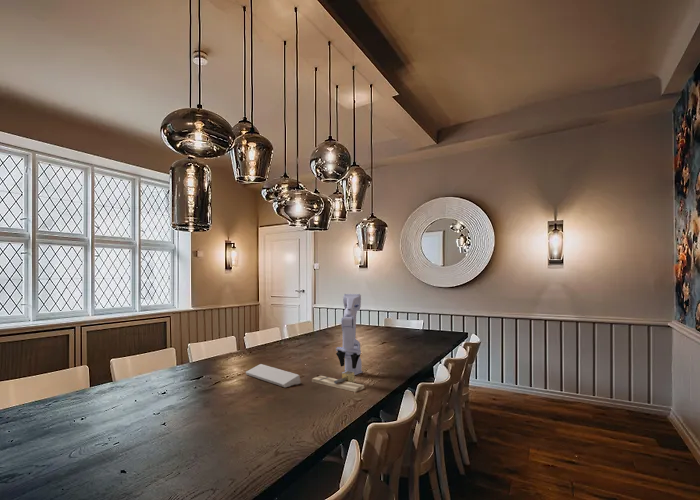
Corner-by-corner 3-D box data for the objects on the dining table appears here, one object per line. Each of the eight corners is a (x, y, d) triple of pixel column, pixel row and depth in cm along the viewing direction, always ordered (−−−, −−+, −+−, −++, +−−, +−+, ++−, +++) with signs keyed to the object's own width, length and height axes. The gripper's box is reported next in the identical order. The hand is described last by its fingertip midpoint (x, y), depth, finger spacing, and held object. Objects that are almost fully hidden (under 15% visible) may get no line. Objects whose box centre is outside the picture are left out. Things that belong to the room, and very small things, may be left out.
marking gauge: (348, 380, 194) (348, 371, 194) (354, 382, 191) (354, 372, 192) (332, 386, 184) (332, 376, 184) (338, 388, 182) (338, 377, 182)
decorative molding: (285, 393, 183) (301, 383, 190) (283, 384, 182) (299, 374, 189) (247, 380, 206) (262, 371, 213) (245, 372, 205) (260, 363, 213)
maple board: (320, 378, 198) (320, 375, 198) (364, 388, 181) (364, 385, 181) (311, 381, 192) (311, 378, 193) (355, 392, 175) (355, 388, 176)
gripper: (332, 339, 193) (332, 366, 192) (354, 343, 184) (354, 371, 184) (340, 337, 199) (340, 363, 198) (363, 340, 190) (363, 368, 189)
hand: (348, 367), depth 191 cm, fingers open, 7 cm apart
